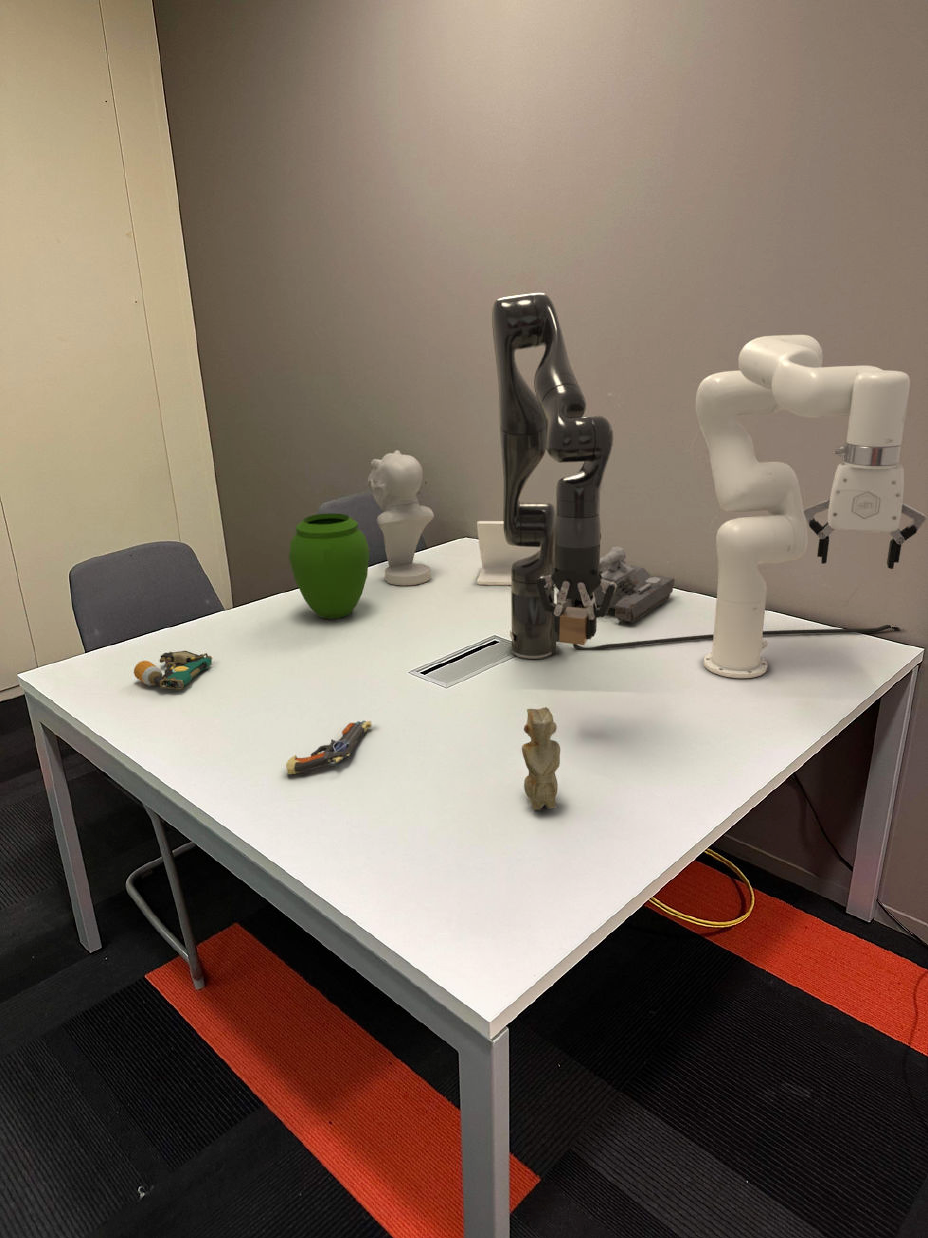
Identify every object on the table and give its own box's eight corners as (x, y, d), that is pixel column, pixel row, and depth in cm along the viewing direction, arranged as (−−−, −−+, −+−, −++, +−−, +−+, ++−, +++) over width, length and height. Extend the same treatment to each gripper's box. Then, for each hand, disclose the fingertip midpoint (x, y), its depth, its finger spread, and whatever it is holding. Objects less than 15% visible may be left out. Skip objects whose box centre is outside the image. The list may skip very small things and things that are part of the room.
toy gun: (281, 764, 140) (338, 761, 138) (320, 718, 158) (372, 715, 156) (284, 779, 141) (341, 777, 139) (323, 732, 159) (374, 729, 156)
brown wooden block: (566, 631, 150) (567, 606, 148) (591, 634, 148) (591, 609, 147) (559, 642, 145) (559, 616, 144) (584, 645, 144) (585, 619, 142)
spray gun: (177, 659, 191) (231, 671, 185) (120, 684, 176) (176, 698, 171) (176, 641, 190) (230, 653, 184) (118, 665, 175) (174, 678, 169)
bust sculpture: (408, 559, 256) (402, 442, 244) (444, 580, 236) (440, 453, 224) (358, 568, 250) (349, 447, 237) (391, 590, 230) (383, 460, 217)
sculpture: (556, 787, 135) (557, 702, 130) (563, 813, 129) (564, 724, 123) (519, 789, 135) (519, 704, 130) (524, 815, 129) (524, 726, 123)
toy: (603, 584, 229) (605, 530, 224) (673, 597, 218) (677, 540, 213) (555, 612, 210) (556, 553, 205) (630, 627, 199) (633, 566, 194)
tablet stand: (569, 585, 229) (570, 524, 223) (476, 584, 232) (475, 523, 226) (570, 566, 246) (571, 508, 240) (484, 564, 249) (483, 507, 243)
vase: (389, 608, 216) (383, 514, 208) (339, 633, 201) (330, 533, 192) (330, 596, 226) (322, 506, 218) (278, 619, 211) (267, 523, 202)
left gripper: (529, 542, 140) (529, 639, 146) (615, 549, 135) (612, 649, 141) (541, 531, 146) (541, 624, 152) (624, 537, 141) (620, 633, 147)
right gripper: (809, 457, 129) (797, 566, 135) (938, 462, 123) (919, 575, 129) (810, 449, 135) (798, 553, 142) (933, 453, 129) (915, 561, 135)
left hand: (575, 635), depth 147 cm, fingers closed on brown wooden block, 4 cm apart
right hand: (856, 563), depth 135 cm, fingers open, 9 cm apart
